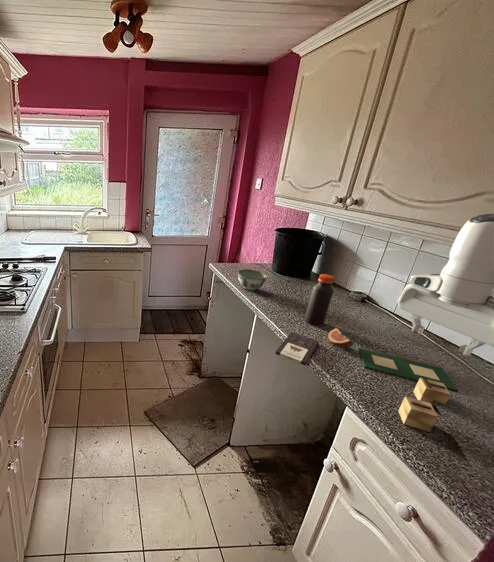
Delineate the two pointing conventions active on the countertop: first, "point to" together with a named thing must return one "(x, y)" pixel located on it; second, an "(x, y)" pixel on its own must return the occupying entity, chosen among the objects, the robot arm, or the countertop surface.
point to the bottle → (320, 300)
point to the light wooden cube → (417, 414)
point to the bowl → (251, 279)
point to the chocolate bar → (297, 348)
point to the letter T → (431, 392)
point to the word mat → (404, 368)
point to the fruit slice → (339, 338)
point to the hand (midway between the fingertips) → (438, 342)
